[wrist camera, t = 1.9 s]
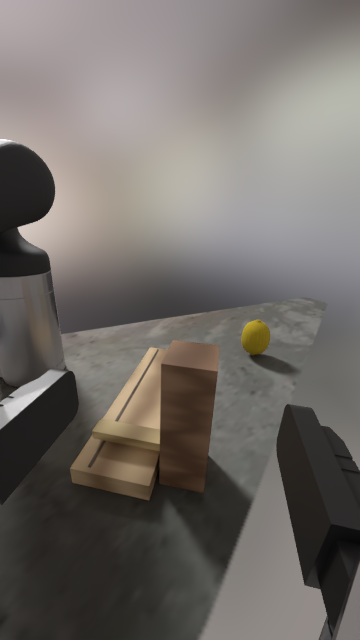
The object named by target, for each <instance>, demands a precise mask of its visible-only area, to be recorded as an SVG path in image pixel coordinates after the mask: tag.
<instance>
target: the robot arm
mask: <svg viewBox="0 0 360 640" xmlns="http://www.w3.org/2000/svg"><path fill="white" fill-rule="evenodd" d="M54 197H55V184H54V180H53V177H52V174H51V172H50V170H49V168H48V167H47V165H46V164H45V162H44V161H43V160H42V159H41V158H40V157H39V156H38V155H37V154H36V153H35V152H34V151H32V150H31V149H29V148H28V147H26V146H24V145H22V144H20V143H17V142H14V141H11V140H4V139H0V377H2V378H3V379H4V382H5V383H7V384H8V385H11V386H15V387H20V388H19V389H17V390H16V391H15V392H13V393H12V394H11V395H9V397H8V398H5V399H4V400H3V401H1V402H0V504H1V505H2V504H3V503H4V502H5V501H6V500H7V498H8V497H9V496H10V495H11V494H12V492H13V491H14V490H15V489H16V488H17V486H18V485H19V484H20V483H21V481H22V480H23V479H24V478H25V477H26V475H27V474H28V473H29V472H30V471H31V469H32V468H33V467H34V466H35V465H36V463H37V462H38V461H39V460H40V459H41V457H42V456H43V455H44V454H45V452H46V451H47V450H48V449H49V448H50V446H51V445H52V444H53V443H54V442H55V440H56V439H57V438H58V437H59V436H60V434H61V433H62V432H63V431H64V430H65V428H66V427H67V426H68V425H69V423H70V422H71V421H72V420H73V419H74V417H75V415H76V413H77V410H78V396H77V389H76V381H75V375H74V373H73V372H72V371H67V370H64V368H65V360H64V353H63V347H62V340H61V333H60V326H59V320H58V314H57V307H56V300H55V294H54V287H53V281H52V274H51V268H50V261H49V257H48V255H47V253H46V252H45V251H44V250H42V249H40V248H38V247H36V246H34V245H32V244H30V243H29V242H27V241H26V240H25V239H24V238H23V237H22V236H21V235H20V233H19V231H18V228H17V227H19V226H23V225H26V224H29V223H33V222H36V221H38V220H40V219H41V218H43V217H44V216H45V215H46V214H47V213H48V212H49V210H50V208H51V207H52V205H53V201H54ZM277 458H278V462H279V467H280V472H281V477H282V481H283V486H284V491H285V495H286V500H287V505H288V509H289V514H290V519H291V524H292V528H293V533H294V538H295V542H296V547H297V552H298V556H299V561H300V565H301V570H302V575H303V580H304V584H305V585H307V586H310V587H314V588H318V589H321V592H322V596H323V600H324V604H325V608H326V612H327V618H326V620H325V623H324V626H323V629H322V632H321V635H320V637H319V640H360V471H359V469H358V467H357V466H356V463H355V462H354V461H353V460H352V456H351V454H350V452H349V450H348V449H347V447H346V445H345V443H344V441H343V440H342V439H341V438H340V437H339V436H338V435H337V434H336V433H335V432H333V430H332V429H331V428H330V427H326V426H321V425H320V423H319V421H318V419H317V417H316V415H315V413H314V411H313V409H312V408H308V407H302V406H296V405H289V404H287V405H286V406H285V409H284V413H283V417H282V421H281V425H280V429H279V433H278V437H277Z"/></svg>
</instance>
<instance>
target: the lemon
mask: <svg viewBox="0 0 360 640" xmlns="http://www.w3.org/2000/svg"><path fill="white" fill-rule="evenodd" d="M269 341H270V331H269V328H268V327H267V325H266V324H265V323H263V322H261V321H260V320H256V321H252V322H250V323H248V324H247V325H246V326H245V328H244V330H243V332H242V337H241V342H242V346H243V348H244V349H245V350H246V351H247V352H249V353H250V354H251V355H253V356H254V355H255V354H260V353H262V352H264V351H265V350H266V349H267V347H268V345H269Z"/></svg>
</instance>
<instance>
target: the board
mask: <svg viewBox="0 0 360 640" xmlns="http://www.w3.org/2000/svg"><path fill="white" fill-rule="evenodd" d="M167 351H168V350H165V349H158V348H150V349H149V350H148V352H147V353H146V355H145V356H144V358H143V359H142V361H141V362H140V364H139V365H138V367H137V368H136V370H135V371H134V373H133V374H132V376H131V377H130V379H129V380H128V382H127V383H126V385H125V386H124V388H123V389H122V391H121V392H120V394H119V395H118V397H117V398H116V400H115V401H114V403H113V404H112V406H111V407H110V409H109V410H108V412H107V413H106V415H105V416H104V418H103V419H105V420H111V421H116V422H122V423H127V424H133V425H138V426H143V427H149V428H154V429H160V402H161V363H162V361H163V359H164V357H165V355H166V353H167ZM159 465H160V451H155V450H150V449H145V448H140V447H135V446H130V445H125V444H120V443H115V442H110V441H105V440H100V439H95V438H93V434H92V436H91V437H90V439H89V440H88V442H87V443H86V445H85V446H84V448H83V449H82V451H81V452H80V454H79V455H78V457H77V458H76V460H75V461H74V463H73V464H72V466H71V467H70V473H71V478H72V483H76V484H80V485H84V486H89V487H93V488H97V489H102V490H106V491H110V492H114V493H119V494H123V495H127V496H131V497H136V498H140V499H144V500H150V496H151V493H152V490H153V486H154V483H155V479H156V476H157V472H158V469H159Z"/></svg>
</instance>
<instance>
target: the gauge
mask: <svg viewBox="0 0 360 640" xmlns="http://www.w3.org/2000/svg"><path fill="white" fill-rule="evenodd" d="M218 360H219V345H211V344H202V343H194V342H186V341H177V340H173V341H172V343H171V345H170V347H169V349H168V351H167V353H166V355H165V357H164V359H163V361H162V363H161V402H160V429H154V428H149V427H143V426H138V425H133V424H127V423H122V422H116V421H111V420H105V419H100V420H99V422H98V423H97V425H96V426H95V427H94V429H93V430H92V434H93V438H95V439H100V440H105V441H110V442H115V443H120V444H125V445H130V446H135V447H140V448H145V449H150V450H155V451H160V469H159V484H162V485H167V486H171V487H176V488H180V489H185V490H189V491H194V492H199V493H203V494H204V487H205V478H206V469H207V461H208V452H209V443H210V434H211V426H212V417H213V408H214V400H215V391H216V382H217V373H218Z"/></svg>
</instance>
